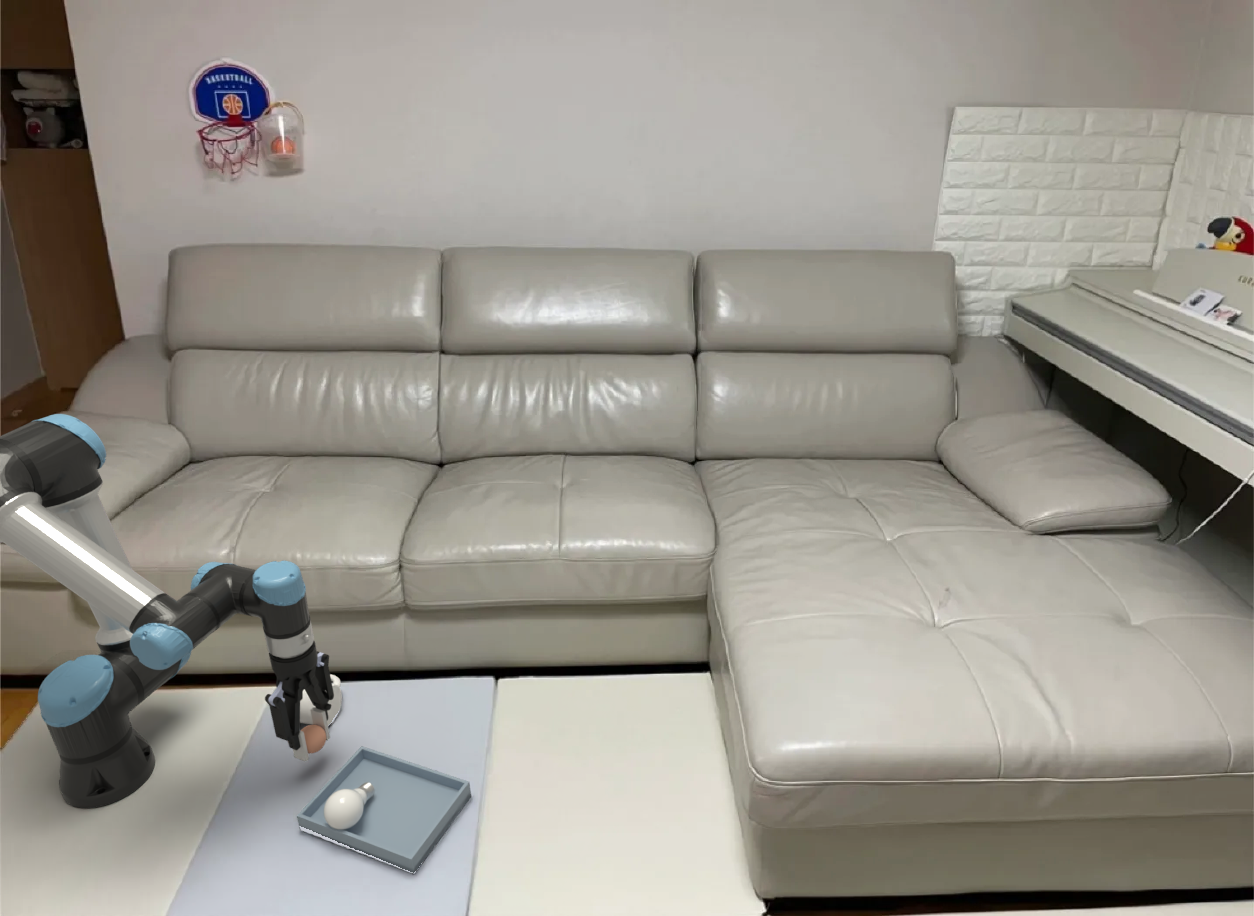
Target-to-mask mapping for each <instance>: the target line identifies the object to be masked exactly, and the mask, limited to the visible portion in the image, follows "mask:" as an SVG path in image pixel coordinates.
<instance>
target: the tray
mask: <svg viewBox="0 0 1254 916" xmlns="http://www.w3.org/2000/svg"><path fill="white" fill-rule="evenodd" d="M366 782H368V783H371V784H372V785H373V787H374V789H375V793H374V795H373V796H372V797H371V798H369V799H368V800H367V801H366V803H365V805H364V809H363V814H362V816H361V818H360V820H359V821H358V822H357V823H356V824H355V825H354V826H353V827H351V828H349V829H345V830H339V829H334V828H332V827H331V826H330V825H329V824H328V823H327V822H326V820H325V818H324V806H325V803H326V801H327V799H328V798H329V797H330V796H331V795H332V794H333V793H334V792H336V791H338V790H341V789H351V790H353V789H356V788H358V787H360V786H361V785H362V784H364V783H366ZM471 797H472V791H471V785H470V781H468V780H466V779H462V778H460V777H457V776H454V775H450V774H447V773H445V772H441V771H438V770H435V769H432V768H430V767H427V766H423V765H420V764H417V763H415V762H411V761H408V760H405V759H402V758H399V757H397V756H393V755H391V754H387V753H384V752H382V751H378V750H375V749H371V748H369V747H366V746H363V745H360V746H359V748H358V749H357V750H356V752H354V753H353V755H352V756H351V757H350V758H348V760H346V762H345V763H344V764H343V765H342V766H341V767H340V768H339V770H337V772H336V773H335V774H333V775H332V777H331V778H330V779H329V780H328V781H327V782H326V784H325V785H323V786H322V788H321V789H320V790H319V791H318V792H317V793H316V794H315V795H314V797H312V798H311V800H310V801H308V803H307V804H305V806H304V807H303V808H302V809H301V810H300V812H298V813H297V814H296V819H297V823H298V826H301V827H304V828H306V829H309V830H312V831H313V832H316V833H318V834H321V835H322V836H325V837H328V838H330V839H332V840H335V841H337V842H338V843H342V844H344V845H347V846H349V847H350V848H354V849H355V850H359V851H362V852H364V853H366V854H368V855H372V856H374V857H376V858H379V859H381V860H383V861H386V862H388V863H391V864H393V865H396V866H398V867H400V868H402V869H405V870H408V871H410V872H413V873H414V872H415V871H416V870H417V869H418V868H419V869H420V867H421V866H422V865H421V863H422V862H423V861H424V862H425V860H426V859H427V858H428V856H429V855H430V854H429V853H432V851H433V850H434V848H435V847H436V845H437V844H438V843H439V841H440V840H441V839H442V837H443V836H444V834H446V832H447V830H448V829H449V827H450V826H451V825H452V823H454V820H455V819H456V818H457V816H458V815H459V814H460V812H461V811H462V810H463V808H464V807H465V805H466V804H467V803H468V801H470V799H471ZM434 846H435V847H434ZM428 854H429V855H428ZM426 857H427V858H426ZM425 858H426V859H425ZM424 859H425V860H424ZM424 862H423V863H424ZM423 863H422V864H423ZM420 865H421V866H420ZM419 866H420V867H419ZM419 869H418V870H419ZM418 870H417V871H418ZM417 871H416V872H417Z"/></svg>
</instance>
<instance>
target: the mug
mask: <svg viewBox="0 0 1254 916" xmlns="http://www.w3.org/2000/svg"><path fill="white" fill-rule="evenodd" d="M330 677H331V682H332V687H333V692H334V698H333V699H332V700H329V701H328V704H331V709H330V710H327V712H328V720H327V724H328V725H329V724H330V723H331V722H332V720H333V718H334V717H335V715H336V714H337V713H338V711H339V710H341V707H342V701H343V697H342V690H341V679H340V678H339V677H338V676H336V675H335V674H331V673H330ZM313 707H315V706H314V705H313V704H312V702H311V700H310V698H309V696H308V695H307V693H306V691H305V689H304V690H303V699H302V700H301V701H300V724H306V725H313V720H312V716H311V711H310V709H312V708H313ZM315 708H316V707H315ZM339 712H340V711H339Z"/></svg>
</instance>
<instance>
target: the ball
mask: <svg viewBox="0 0 1254 916" xmlns="http://www.w3.org/2000/svg"><path fill="white" fill-rule="evenodd" d="M300 731H303V732H304V736H305V741H306V746H307V750H308V755H309V754H315V753H318V752H319V751H320V750H321V749H323V748H324V746H325V744H326V741H327V740H326V733H325V731H324V730H323V728H321V727H320V726H318V725H312V724H307V725H306V726H304V727H303V728H301V729H300Z"/></svg>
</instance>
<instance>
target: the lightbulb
mask: <svg viewBox="0 0 1254 916" xmlns="http://www.w3.org/2000/svg"><path fill="white" fill-rule="evenodd" d="M374 793H375V789H374V787H373V785H372V784H371V783H368V782H366V783H364V784H362V785H361V786H360V787H358V788H356V789H353V790H351V789H341V790H338V791H336V792H334V793H333V794H332V795H331V796H330V797H329V798H328V799H327V801H326V803H325V806H324V818H325V820H326V822H327V823H328V824H329V825H330V826H331V827H332V828H334V829H339V830H345V829H349V828H351V827H353V826H354V825H355V824H356V823H357V822H358V821H359V820H360V818H361V816H362V814H363V809H364V805H365V803H366V801H367V800H368V799H369V798H371V797H372V796H373V795H374Z"/></svg>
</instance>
